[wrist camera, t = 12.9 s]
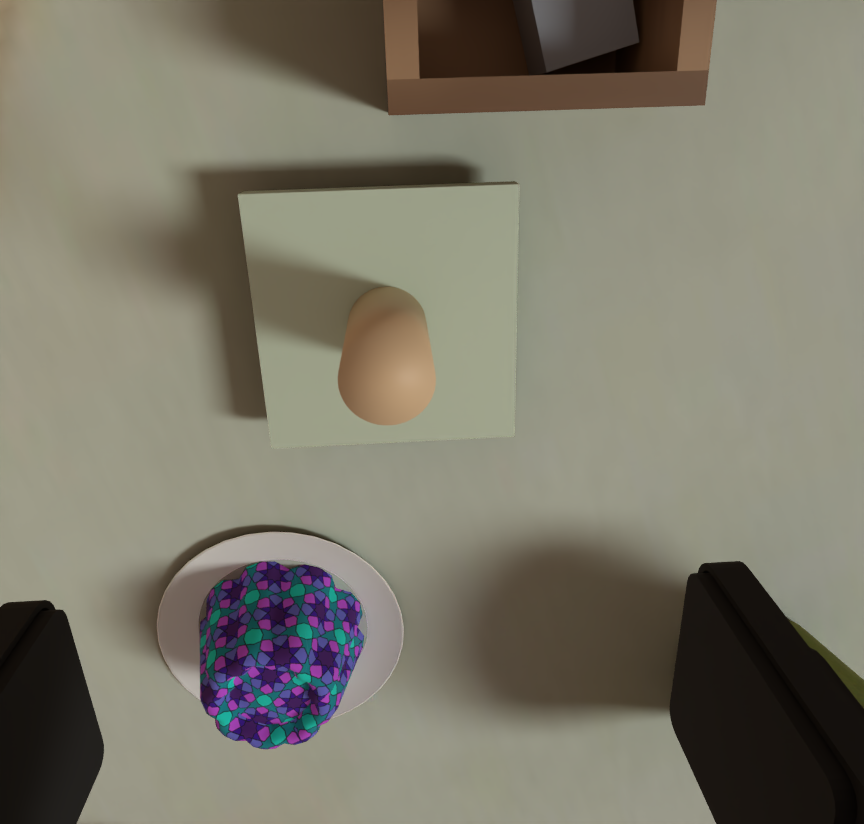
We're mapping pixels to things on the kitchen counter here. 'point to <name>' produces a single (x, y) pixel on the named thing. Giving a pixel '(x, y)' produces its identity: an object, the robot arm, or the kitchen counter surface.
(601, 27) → the slate block
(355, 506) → the kitchen counter surface
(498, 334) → the lid
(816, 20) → the kitchen counter surface
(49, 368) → the kitchen counter surface
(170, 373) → the kitchen counter surface
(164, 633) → the pudding
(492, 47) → the walnut box
